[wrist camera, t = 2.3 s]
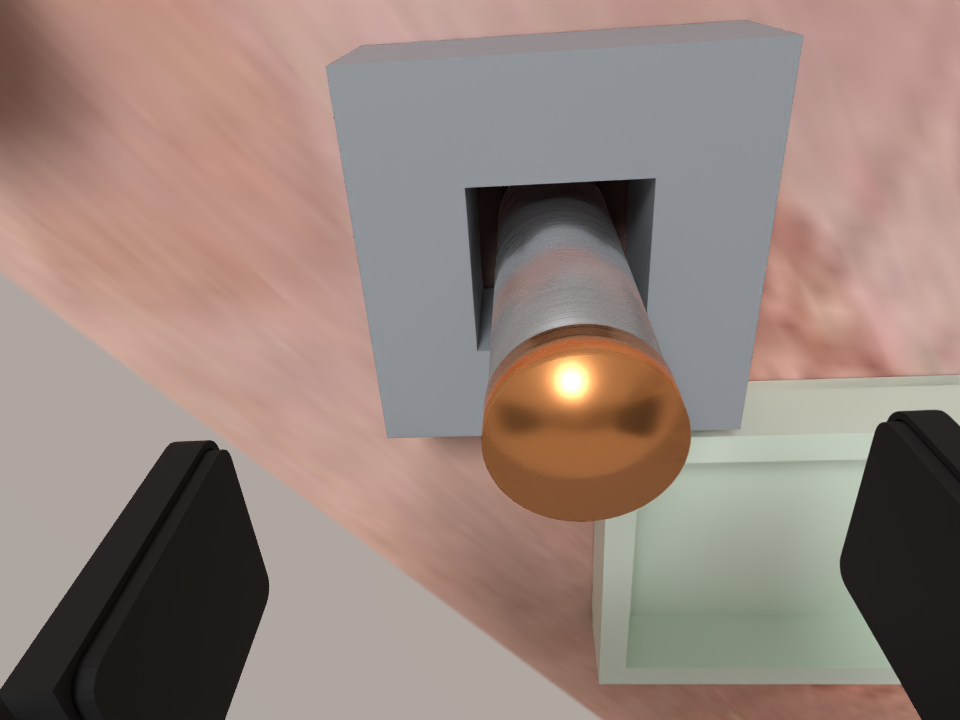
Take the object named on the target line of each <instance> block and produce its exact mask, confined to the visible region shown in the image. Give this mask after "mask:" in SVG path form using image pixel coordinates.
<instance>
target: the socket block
mask: <svg viewBox="0 0 960 720" xmlns="http://www.w3.org/2000/svg"><path fill="white" fill-rule="evenodd" d="M802 42H803V35H801V34H797V33H794V32H790V31H786V30H782V29H778V28H775V27H771V26H767V25H763V24H759V23H756V22H752V21H748V20H740V21H725V22H710V23H695V24H680V25H665V26H650V27H635V28H620V29H605V30H590V31H575V32H560V33H545V34H530V35H515V36H500V37H485V38H470V39H455V40H440V41H425V42H410V43H395V44H380V45H365V46H360V47H359V48H357V49H355V50H353V51H351V52H350V53H348V54H346V55H344V56H343V57H341V58H339V59H337V60H336V61H334V62H332V63H330V64H328V65H327V66H326V71H327V77H328V83H329V90H330V96H331V102H332V108H333V114H334V120H335V126H336V132H337V138H338V144H339V150H340V156H341V162H342V168H343V174H344V180H345V186H346V192H347V198H348V204H349V210H350V216H351V222H352V228H353V234H354V240H355V246H356V252H357V258H358V264H359V270H360V276H361V282H362V288H363V294H364V300H365V306H366V312H367V318H368V324H369V330H370V336H371V342H372V349H373V355H374V361H375V367H376V373H377V379H378V385H379V391H380V397H381V403H382V409H383V415H384V421H385V427H386V433H387V438H417V437H456V436H482V427H483V412H484V400H485V394H486V389H487V386H488V380H489V363H490V347H491V331H492V314H493V298H494V288H484V289H483V279H482V264H481V249H480V234H479V220H478V205H477V190H476V187H492V186H511V185H531V184H550V183H570V182H589V181H609V180H628V199H627V220H626V242H625V257H626V259H627V262H628V265H629V267H630V270H631V273H632V275H633V278H634V281H635V283H636V286H637V289H638V291H639V294H640V297H641V299H642V302H643V305H644V307H645V310H646V313H647V315H648V318H649V321H650V323H651V326H652V329H653V331H654V334H655V337H656V340H657V342H658V345H659V348H660V350H661V353H662V356H663V358H664V360H665V362H666V363H667V364H668V366H669V368H670V370H671V372H672V374H673V376H674V379H675V381H676V384H677V387H678V389H679V392H680V394H681V397H682V400H683V402H684V405H685V408H686V410H687V414H688V417H689V420H690V427H691V431H692V430H732V429H741V422H742V416H743V410H744V404H745V398H746V391H747V385H748V379H749V373H750V366H751V360H752V354H753V348H754V341H755V335H756V329H757V323H758V316H759V310H760V304H761V298H762V291H763V285H764V279H765V273H766V266H767V260H768V254H769V248H770V241H771V235H772V229H773V223H774V216H775V210H776V204H777V198H778V191H779V185H780V179H781V173H782V166H783V160H784V154H785V148H786V141H787V135H788V129H789V123H790V116H791V110H792V104H793V98H794V91H795V85H796V79H797V73H798V67H799V60H800V54H801V48H802Z"/></svg>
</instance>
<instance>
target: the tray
mask: <svg viewBox="0 0 960 720" xmlns="http://www.w3.org/2000/svg"><path fill="white" fill-rule="evenodd" d="M914 410H941V411H944V412H945V413H947V414H948V415H949V416H950V417H951V418H952V419H953V420H954V421H955V422H956V423H957V424H958V425H959V426H960V375H940V376H907V377H874V378H841V379H808V380H775V381H748V385H747V391H746V398H745V404H744V410H743V416H742V422H741V429H732V430H692V431H691V444H690V449H689V454H688V456H687V459H686V462H685V464H684V466H683V468H682V470H681V472H680V473H679V475H678V476H677V477H676V479H675V480H674V481H673V483H672V484H671V485H670V486H669V487H668V488H667V489H666V490H665V491H664V492H663V493H662V494H660V495H659V496H658V497H657V498H655V499H654V500H652V501H651V502H649V503H648V504H646V505H645V506H643V507H641V508H639V509H637V510H635V511H632V512H630V513H627V514H624V515H622V516H618V517H614V518H610V519H605V520H599V521H594V550H593V586H592V629H593V637H594V646H595V654H596V663H597V671H598V680H599V684H901V683H900V681H899V679H898V677H897V676H896V674H895V672H894V670H893V669H892V667H891V665H890V663H889V662H888V660H887V658H886V656H885V655H884V653H883V651H882V649H881V648H880V646H879V644H878V642H877V641H876V639H875V637H874V635H873V634H872V632H871V630H870V629H869V627H868V625H867V623H866V622H865V620H864V618H863V616H862V615H861V613H860V611H859V609H858V608H857V606H856V604H855V602H854V601H853V599H852V597H851V595H850V594H849V592H848V590H847V588H846V587H845V585H844V582H843V580H842V577H841V573H840V556H841V553H842V549H843V545H844V542H845V538H846V535H847V531H848V527H849V524H850V520H851V516H852V513H853V509H854V505H855V502H856V498H857V495H858V491H859V487H860V484H861V480H862V476H863V473H864V469H865V465H866V462H867V458H868V455H869V451H870V447H871V444H872V440H873V436H874V433H875V430H876V428H877V426H878V425H879V424H880V423H882V422H887V420H888V418H889V416H890V415H891V414H892V413H894V412H897V411H914Z"/></svg>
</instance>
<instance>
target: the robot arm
mask: <svg viewBox="0 0 960 720" xmlns="http://www.w3.org/2000/svg"><path fill="white" fill-rule="evenodd" d="M840 573H841V577H842V580H843V582H844V585H845V587H846V588H847V590H848V592H849V594H850V595H851V597H852V599H853V601H854V602H855V604H856V606H857V608H858V609H859V611H860V613H861V615H862V616H863V618H864V620H865V622H866V623H867V625H868V627H869V629H870V630H871V632H872V634H873V635H874V637H875V639H876V641H877V642H878V644H879V646H880V648H881V649H882V651H883V653H884V655H885V656H886V658H887V660H888V662H889V663H890V665H891V667H892V669H893V670H894V672H895V674H896V676H897V677H898V679H899V681H900V683H901V684H902V686H903V688H904V690H905V691H906V693H907V695H908V697H909V698H910V700H911V702H912V704H913V705H914V707H915V709H916V711H917V712H918V714H919V716H920V718H921V719H922V720H960V426H959V425H958V424H957V423H956V422H955V421H954V420H953V419H952V418H951V417H950V416H949V415H948V414H947V413H945V412H944V411H941V410H914V411H897V412H894V413H892V414H891V415H890V416H889V418H888V420H887V422H882V423H880V424H879V425H878V426H877V428H876V430H875V433H874V436H873V440H872V444H871V447H870V451H869V455H868V458H867V462H866V465H865V469H864V473H863V476H862V480H861V484H860V487H859V491H858V495H857V498H856V502H855V505H854V509H853V513H852V516H851V520H850V524H849V527H848V531H847V535H846V538H845V542H844V545H843V549H842V553H841V556H840ZM268 594H269V580H268V575H267V572H266V569H265V565H264V562H263V559H262V555H261V552H260V549H259V546H258V543H257V539H256V536H255V533H254V530H253V526H252V523H251V520H250V517H249V514H248V510H247V507H246V504H245V500H244V497H243V494H242V491H241V488H240V484H239V481H238V478H237V474H236V471H235V468H234V465H233V461H232V458H231V456H230V454H229V452H228V451H227V450H219V448H218V446H217V444H216V443H215V442H213V441H210V440H208V441H183V442H173V443H170V444H169V445H168V447H166V449H165V450H164V452H163V453H162V455H161V456H160V458H159V459H158V460H157V462H156V463H155V465H154V466H153V468H152V469H151V471H150V472H149V474H148V475H147V476H146V478H145V479H144V481H143V482H142V484H141V485H140V487H139V488H138V490H137V491H136V493H135V494H134V495H133V497H132V499H131V500H130V501H129V503H128V504H127V506H126V507H125V509H124V510H123V511H122V513H121V514H120V516H119V518H118V519H117V520H116V522H115V523H114V525H113V526H112V528H111V529H110V530H109V532H108V533H107V535H106V536H105V538H104V539H103V541H102V542H101V543H100V545H99V547H98V548H97V549H96V551H95V552H94V554H93V555H92V557H91V558H90V559H89V561H88V562H87V564H86V565H85V567H84V568H83V570H82V571H81V573H80V574H79V576H78V577H77V578H76V580H75V581H74V583H73V584H72V586H71V587H70V589H69V590H68V592H67V593H66V594H65V596H64V598H63V599H62V600H61V602H60V603H59V605H58V606H57V608H56V609H55V611H54V612H53V613H52V615H51V616H50V618H49V619H48V621H47V622H46V624H45V625H44V626H43V628H42V629H41V631H40V632H39V634H38V635H37V637H36V638H35V640H34V641H33V643H32V644H31V645H30V647H29V649H28V650H27V651H26V653H25V654H24V656H23V657H22V659H21V660H20V661H19V663H18V665H17V666H16V667H15V669H14V670H13V672H12V673H11V675H10V676H9V677H8V679H7V680H6V682H5V683H4V685H3V686H2V688H1V689H0V720H225V718H226V715H227V712H228V709H229V707H230V704H231V701H232V698H233V695H234V693H235V690H236V687H237V684H238V682H239V679H240V676H241V673H242V670H243V667H244V665H245V662H246V659H247V656H248V654H249V651H250V648H251V645H252V643H253V640H254V637H255V634H256V631H257V628H258V626H259V623H260V620H261V617H262V615H263V611H264V609H265V606H266V603H267V600H268Z"/></svg>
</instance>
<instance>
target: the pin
mask: <svg viewBox="0 0 960 720" xmlns="http://www.w3.org/2000/svg"><path fill="white" fill-rule="evenodd" d="M690 444H691V427H690V420H689V417H688V414H687V410H686V408H685V405H684V402H683V400H682V397H681V394H680V392H679V389H678V387H677V384H676V381H675V379H674V376H673V374H672V372H671V370H670V368H669V366H668V364H667V363H666V362H665V360H664V358H663V356H662V353H661V350H660V348H659V345H658V342H657V340H656V337H655V334H654V331H653V329H652V326H651V323H650V321H649V318H648V315H647V313H646V310H645V307H644V305H643V302H642V299H641V297H640V294H639V291H638V289H637V286H636V283H635V281H634V278H633V275H632V273H631V270H630V267H629V265H628V262H627V259H626V257H625V254H624V251H623V248H622V246H621V243H620V240H619V238H618V235H617V232H616V230H615V227H614V224H613V222H612V219H611V216H610V214H609V211H608V208H607V206H606V203H605V200H604V198H603V195H602V193H601V191H600V189H599V188H598V186H597V185H596V183H595V182H594V181H589V182H570V183H550V184H531V185H511V186H509V188H508V189H507V191H506V192H505V194H504V196H503V198H502V201H501V204H500V208H499V217H498V233H497V249H496V266H495V282H494V298H493V314H492V331H491V347H490V363H489V380H488V386H487V389H486V394H485V400H484V412H483V427H482V452H483V458H484V461H485V464H486V467H487V469H488V471H489V473H490V475H491V477H492V479H493V480H494V481H495V483H496V484H497V486H498V487H499V488H500V489H501V490H502V491H503V492H504V493H505V494H506V495H507V496H508V497H509V498H511V499H512V500H513V501H514V502H516V503H518V504H519V505H521V506H522V507H524V508H526V509H528V510H530V511H532V512H534V513H537V514H540V515H543V516H546V517H550V518H554V519H558V520H565V521H578V522H587V521H599V520H605V519H610V518H614V517H618V516H622V515H624V514H627V513H630V512H632V511H635V510H637V509H639V508H641V507H643V506H645V505H646V504H648V503H649V502H651V501H652V500H654V499H655V498H657V497H658V496H659V495H660V494H662V493H663V492H664V491H665V490H666V489H667V488H668V487H669V486H670V485H671V484H672V483H673V481H674V480H675V479H676V477H677V476H678V475H679V473H680V472H681V470H682V468H683V466H684V464H685V462H686V459H687V456H688V454H689V449H690Z"/></svg>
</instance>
